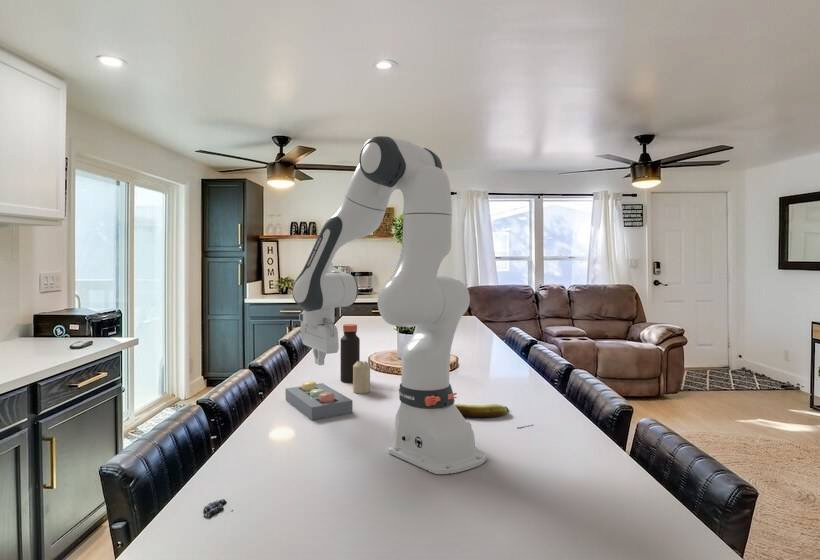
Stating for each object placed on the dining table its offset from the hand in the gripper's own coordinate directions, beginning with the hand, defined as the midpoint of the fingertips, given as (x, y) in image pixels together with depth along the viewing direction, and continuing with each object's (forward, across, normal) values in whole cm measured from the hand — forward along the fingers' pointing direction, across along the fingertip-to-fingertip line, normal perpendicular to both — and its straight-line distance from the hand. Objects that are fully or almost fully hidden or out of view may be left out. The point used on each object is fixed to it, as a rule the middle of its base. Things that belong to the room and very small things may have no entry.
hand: (319, 364), depth 134 cm
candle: (+13, +8, -18) cm, 23 cm away
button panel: (+12, +2, 0) cm, 13 cm away
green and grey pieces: (+14, -30, -36) cm, 48 cm away
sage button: (+11, +1, 0) cm, 11 cm away
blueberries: (+14, -44, +36) cm, 58 cm away
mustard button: (+10, +8, 0) cm, 13 cm away
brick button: (+10, -6, 0) cm, 12 cm away
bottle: (+13, +24, -21) cm, 34 cm away
